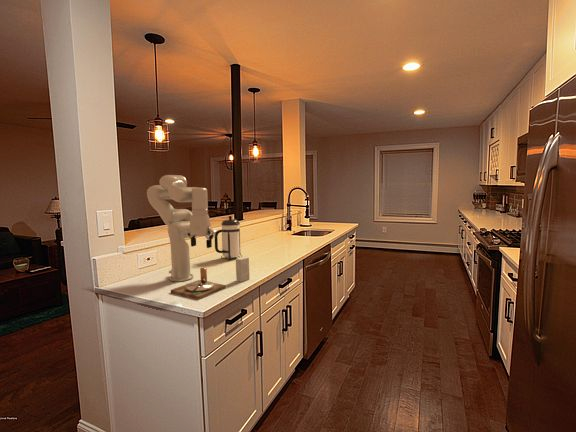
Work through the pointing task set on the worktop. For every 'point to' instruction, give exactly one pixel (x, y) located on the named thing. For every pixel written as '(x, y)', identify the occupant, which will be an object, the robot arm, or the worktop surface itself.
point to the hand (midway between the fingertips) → (201, 246)
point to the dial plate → (197, 295)
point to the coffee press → (229, 238)
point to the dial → (201, 283)
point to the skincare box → (242, 269)
